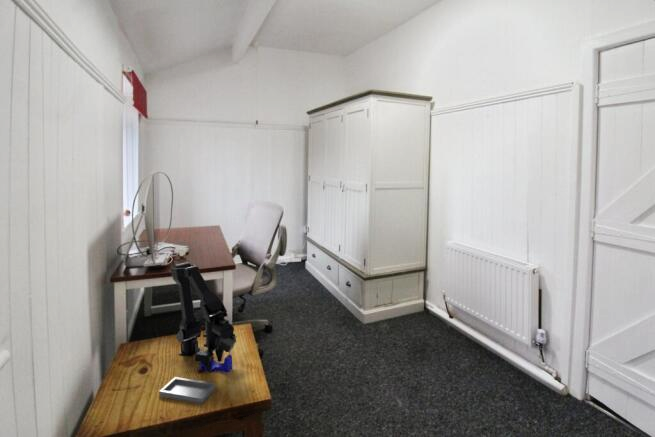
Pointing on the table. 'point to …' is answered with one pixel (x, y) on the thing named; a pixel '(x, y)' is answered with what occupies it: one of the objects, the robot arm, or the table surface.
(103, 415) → the table surface
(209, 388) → the tray
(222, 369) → the blue curved cradle
